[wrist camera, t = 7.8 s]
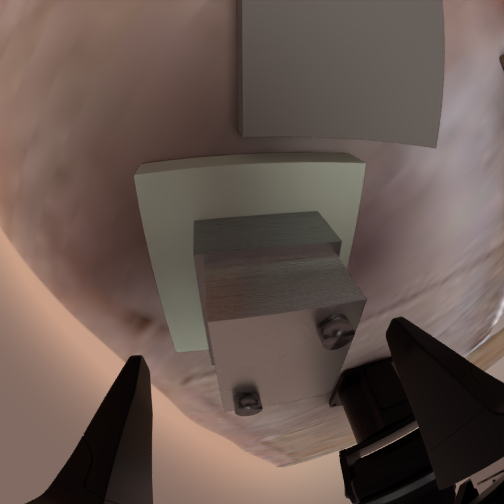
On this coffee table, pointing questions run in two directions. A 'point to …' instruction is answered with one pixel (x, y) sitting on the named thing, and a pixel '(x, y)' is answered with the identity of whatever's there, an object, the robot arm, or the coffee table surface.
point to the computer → (502, 60)
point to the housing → (274, 306)
